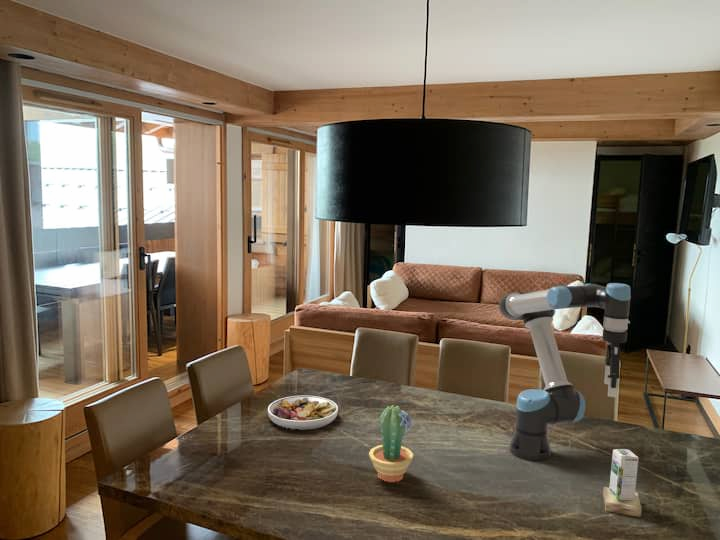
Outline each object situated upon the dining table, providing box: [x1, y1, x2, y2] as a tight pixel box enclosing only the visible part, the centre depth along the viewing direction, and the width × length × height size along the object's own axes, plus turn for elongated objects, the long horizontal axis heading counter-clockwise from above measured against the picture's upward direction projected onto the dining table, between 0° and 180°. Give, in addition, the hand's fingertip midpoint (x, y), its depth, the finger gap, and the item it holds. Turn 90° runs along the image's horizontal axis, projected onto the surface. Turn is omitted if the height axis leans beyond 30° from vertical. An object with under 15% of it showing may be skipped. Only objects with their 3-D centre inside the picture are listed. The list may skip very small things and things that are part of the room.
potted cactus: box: [368, 404, 414, 483], centre depth 197 cm, size 15×15×25 cm
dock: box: [602, 486, 643, 518], centre depth 182 cm, size 10×10×3 cm
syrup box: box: [608, 448, 639, 500], centre depth 182 cm, size 6×6×14 cm
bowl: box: [267, 395, 339, 431], centre depth 247 cm, size 30×30×8 cm
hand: (610, 390), depth 196 cm, fingers open, 13 cm apart
